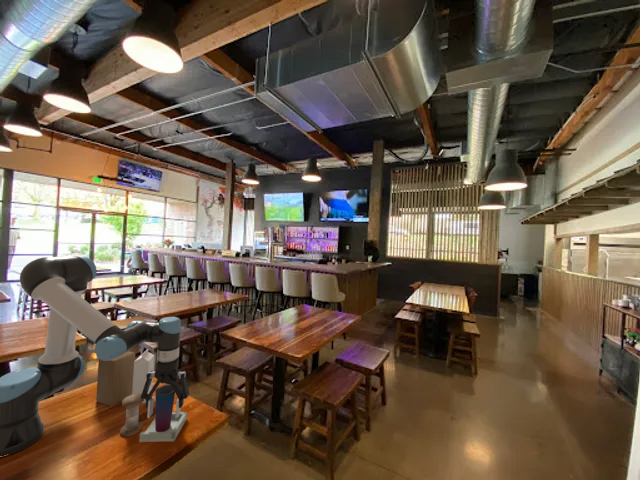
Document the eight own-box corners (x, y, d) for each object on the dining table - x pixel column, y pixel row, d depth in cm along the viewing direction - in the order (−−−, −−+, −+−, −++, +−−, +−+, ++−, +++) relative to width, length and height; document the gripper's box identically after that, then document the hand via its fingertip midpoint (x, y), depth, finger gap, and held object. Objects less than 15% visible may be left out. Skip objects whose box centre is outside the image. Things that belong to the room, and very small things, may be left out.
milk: (131, 404, 116) (134, 354, 116) (138, 395, 122) (140, 348, 122) (146, 403, 117) (149, 354, 117) (152, 395, 123) (155, 348, 123)
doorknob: (115, 437, 98) (117, 404, 98) (127, 423, 105) (129, 393, 105) (135, 436, 99) (138, 404, 98) (146, 423, 105) (147, 393, 105)
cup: (148, 431, 100) (151, 392, 100) (162, 420, 107) (165, 383, 107) (163, 435, 99) (166, 396, 99) (176, 423, 106) (179, 386, 105)
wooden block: (94, 401, 116) (97, 356, 116) (118, 389, 126) (120, 347, 125) (111, 407, 113) (114, 361, 113) (133, 394, 123) (136, 352, 122)
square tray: (139, 441, 96) (139, 434, 96) (155, 419, 108) (156, 412, 108) (174, 441, 98) (174, 433, 98) (186, 418, 110) (187, 412, 110)
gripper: (131, 362, 98) (127, 422, 98) (194, 363, 100) (190, 421, 100) (142, 353, 105) (139, 409, 105) (200, 354, 108) (197, 408, 108)
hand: (164, 415), depth 103 cm, fingers open, 9 cm apart
